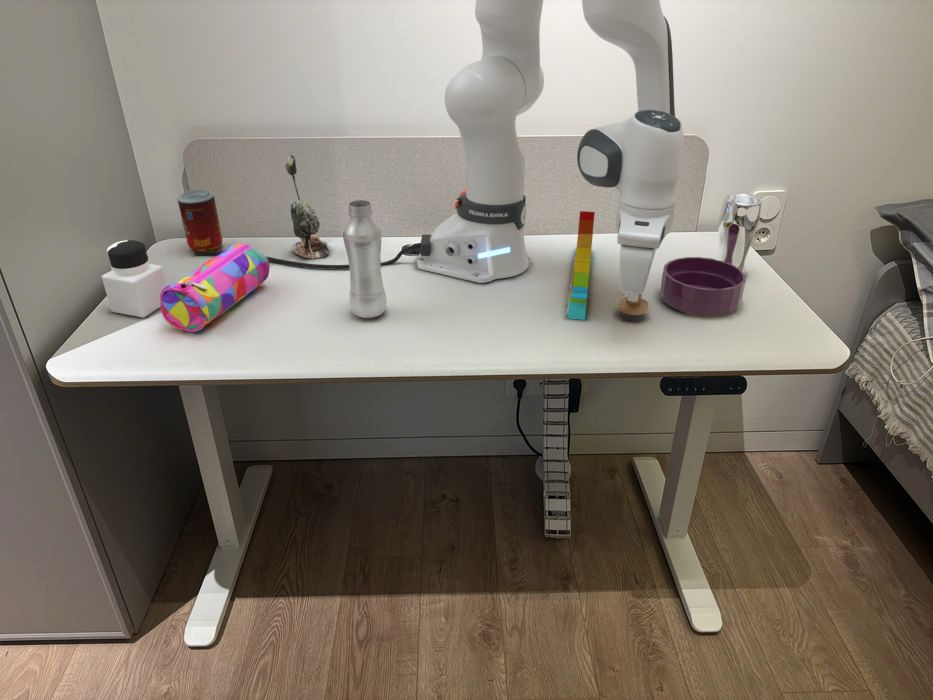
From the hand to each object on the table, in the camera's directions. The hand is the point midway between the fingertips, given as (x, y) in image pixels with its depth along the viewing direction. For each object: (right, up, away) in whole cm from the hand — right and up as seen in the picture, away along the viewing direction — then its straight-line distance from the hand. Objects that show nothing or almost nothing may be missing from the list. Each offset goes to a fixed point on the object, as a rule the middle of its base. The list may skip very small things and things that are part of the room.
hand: (634, 295), depth 119 cm
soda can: (-84, +12, +28) cm, 89 cm away
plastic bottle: (-46, -3, +3) cm, 46 cm away
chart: (-7, +3, +14) cm, 16 cm away
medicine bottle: (-87, -2, +6) cm, 87 cm away
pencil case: (-72, -2, +5) cm, 73 cm away
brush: (0, -4, +2) cm, 4 cm away
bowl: (+14, 0, +7) cm, 15 cm away
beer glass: (+23, +6, +18) cm, 29 cm away
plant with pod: (-61, +11, +27) cm, 68 cm away
